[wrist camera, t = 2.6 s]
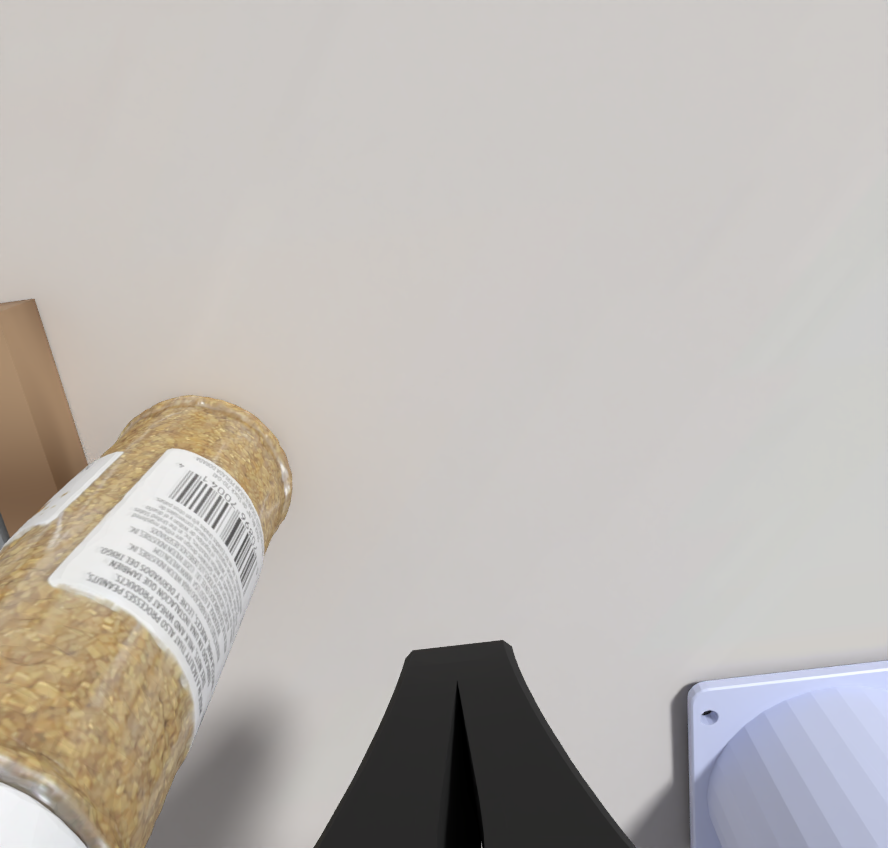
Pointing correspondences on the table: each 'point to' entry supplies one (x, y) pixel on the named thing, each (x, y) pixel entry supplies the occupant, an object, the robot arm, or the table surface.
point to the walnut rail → (32, 418)
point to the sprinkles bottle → (128, 619)
